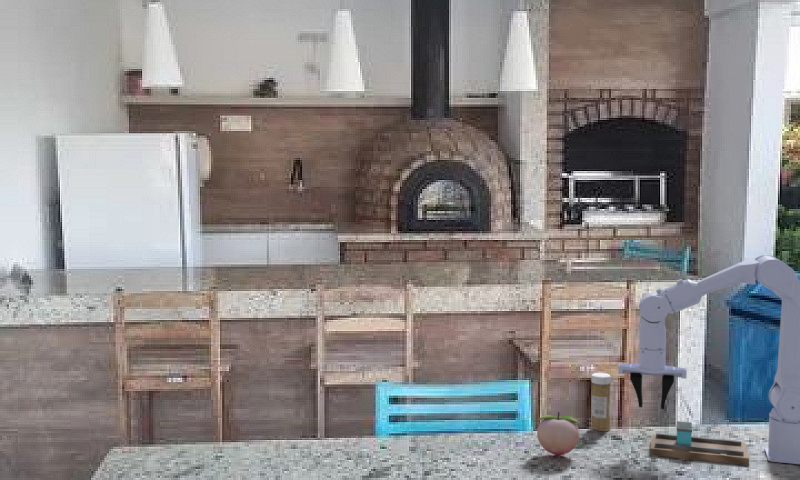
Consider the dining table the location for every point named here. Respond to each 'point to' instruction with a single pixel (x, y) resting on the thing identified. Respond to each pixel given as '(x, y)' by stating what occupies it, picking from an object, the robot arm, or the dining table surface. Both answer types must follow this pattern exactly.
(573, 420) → the decorative fruit
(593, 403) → the sprinkles bottle
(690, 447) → the fader console
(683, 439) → the fader tab
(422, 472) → the dining table surface
